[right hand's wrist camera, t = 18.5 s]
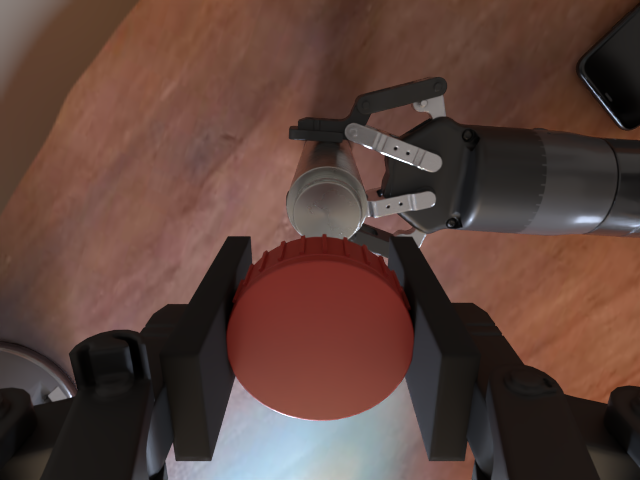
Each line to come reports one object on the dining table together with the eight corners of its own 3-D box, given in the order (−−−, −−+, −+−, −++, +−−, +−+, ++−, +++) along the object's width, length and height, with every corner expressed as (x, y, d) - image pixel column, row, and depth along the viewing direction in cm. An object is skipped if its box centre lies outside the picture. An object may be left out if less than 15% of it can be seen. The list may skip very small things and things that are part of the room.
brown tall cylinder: (360, 153, 37) (388, 216, 20) (326, 186, 38) (325, 270, 21) (327, 118, 36) (328, 153, 19) (293, 152, 37) (265, 214, 20)
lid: (209, 345, 13) (194, 384, 11) (276, 202, 11) (269, 222, 9) (355, 403, 13) (360, 447, 12) (437, 276, 12) (456, 307, 10)
